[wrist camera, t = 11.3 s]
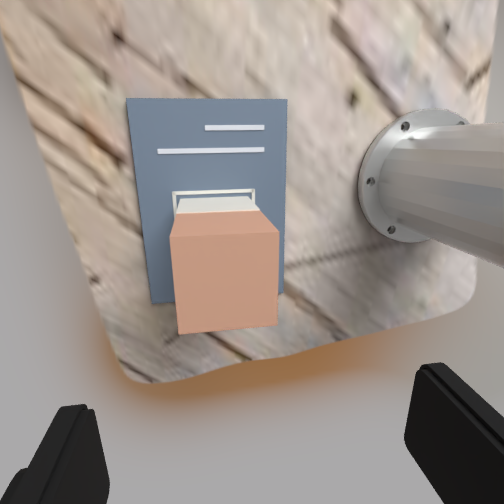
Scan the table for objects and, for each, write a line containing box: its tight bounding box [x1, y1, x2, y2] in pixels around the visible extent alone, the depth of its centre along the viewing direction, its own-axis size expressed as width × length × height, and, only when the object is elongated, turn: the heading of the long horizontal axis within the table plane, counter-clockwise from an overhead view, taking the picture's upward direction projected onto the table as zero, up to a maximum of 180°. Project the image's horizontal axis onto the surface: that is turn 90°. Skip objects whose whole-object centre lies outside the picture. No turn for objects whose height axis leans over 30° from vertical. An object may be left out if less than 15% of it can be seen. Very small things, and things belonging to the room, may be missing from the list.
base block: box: [176, 196, 260, 214], centre depth 27 cm, size 6×6×6 cm
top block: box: [170, 210, 279, 334], centre depth 21 cm, size 6×6×6 cm
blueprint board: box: [126, 98, 287, 304], centre depth 29 cm, size 13×18×1 cm
